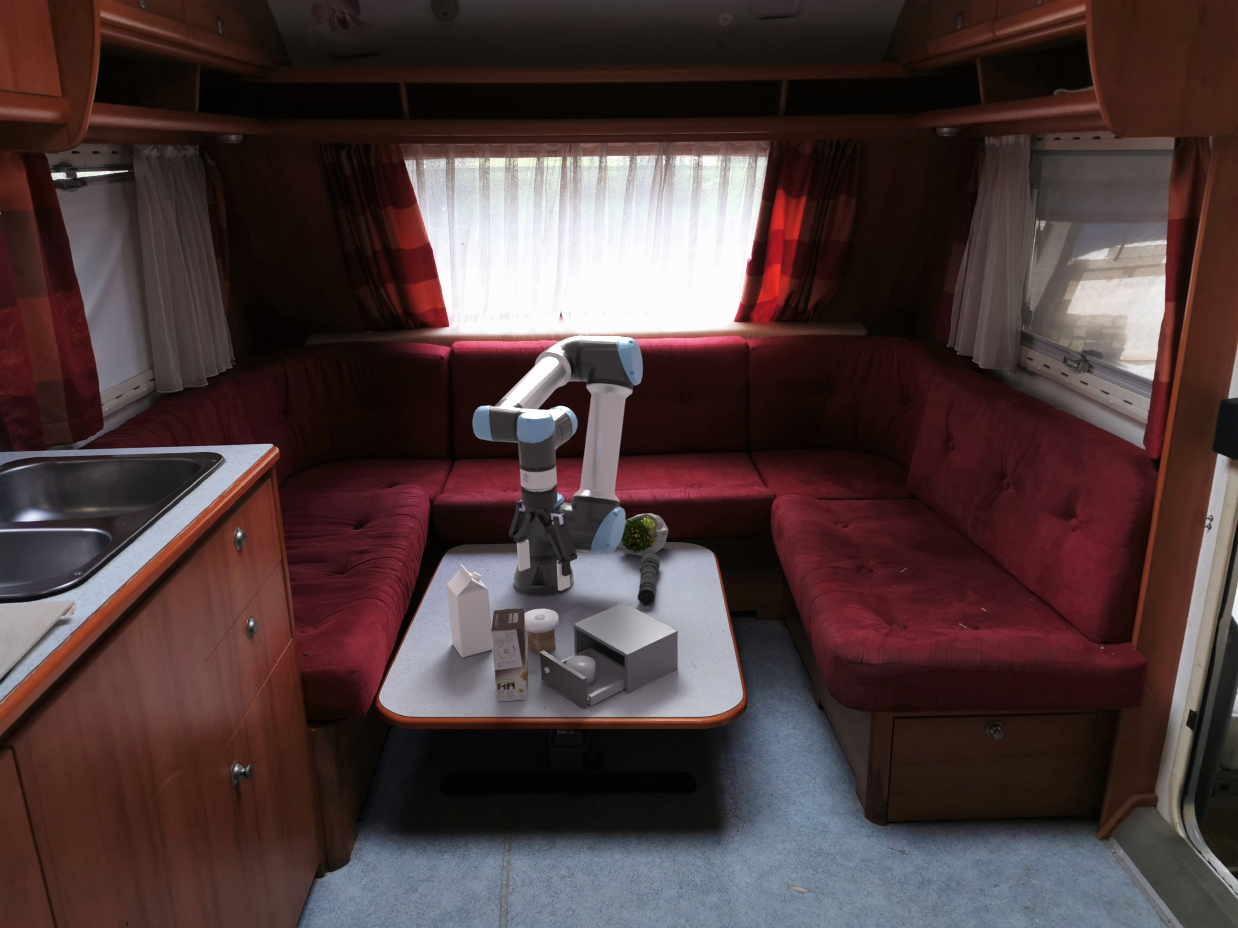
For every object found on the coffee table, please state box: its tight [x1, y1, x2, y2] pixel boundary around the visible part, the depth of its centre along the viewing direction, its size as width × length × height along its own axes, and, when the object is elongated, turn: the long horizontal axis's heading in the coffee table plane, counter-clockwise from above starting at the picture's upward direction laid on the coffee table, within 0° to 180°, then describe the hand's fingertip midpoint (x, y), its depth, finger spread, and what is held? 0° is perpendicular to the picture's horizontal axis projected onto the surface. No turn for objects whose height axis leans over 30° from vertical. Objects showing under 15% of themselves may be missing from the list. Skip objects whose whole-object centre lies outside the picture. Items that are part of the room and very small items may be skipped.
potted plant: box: [618, 512, 669, 558], centre depth 244 cm, size 12×13×15 cm
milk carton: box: [446, 563, 493, 658], centre depth 198 cm, size 7×7×19 cm
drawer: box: [539, 647, 625, 709], centre depth 185 cm, size 15×14×7 cm
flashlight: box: [637, 553, 661, 606], centre depth 227 cm, size 5×21×5 cm, turn 175°
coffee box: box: [491, 607, 529, 702], centre depth 183 cm, size 9×6×16 cm
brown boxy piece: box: [526, 628, 557, 656], centre depth 199 cm, size 4×4×6 cm
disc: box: [524, 608, 560, 633], centre depth 198 cm, size 8×8×2 cm
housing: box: [573, 602, 679, 695], centre depth 192 cm, size 17×14×9 cm
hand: (543, 578), depth 195 cm, fingers open, 13 cm apart
